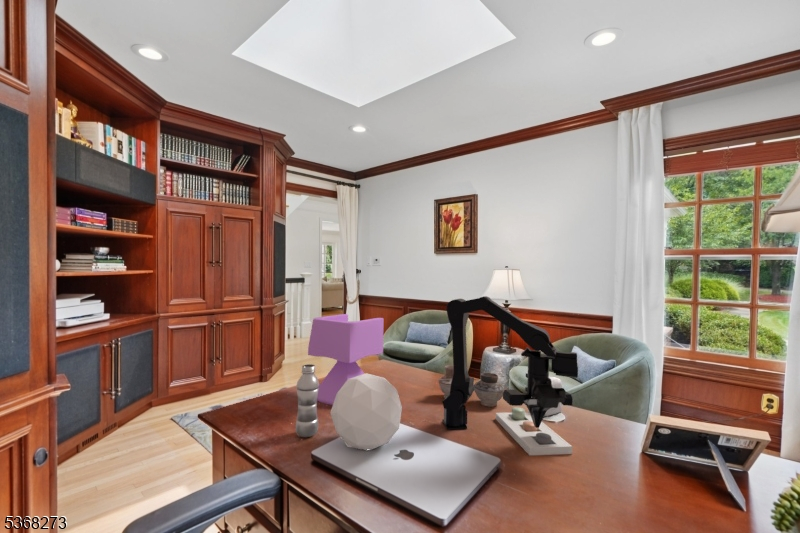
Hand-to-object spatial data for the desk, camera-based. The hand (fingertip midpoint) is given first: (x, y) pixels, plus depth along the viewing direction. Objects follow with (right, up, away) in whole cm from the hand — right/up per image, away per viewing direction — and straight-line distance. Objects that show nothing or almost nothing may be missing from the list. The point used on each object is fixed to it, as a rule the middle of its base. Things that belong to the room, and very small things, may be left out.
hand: (536, 427), depth 104 cm
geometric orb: (-49, -3, -4) cm, 49 cm away
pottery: (-13, -5, +32) cm, 35 cm away
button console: (0, -4, +4) cm, 6 cm away
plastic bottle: (-66, -3, +1) cm, 66 cm away
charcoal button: (0, -4, -4) cm, 5 cm away
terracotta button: (0, -4, +4) cm, 6 cm away
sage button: (-1, -3, +12) cm, 13 cm away
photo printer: (+13, -5, +22) cm, 26 cm away
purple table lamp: (-60, -4, +33) cm, 68 cm away
